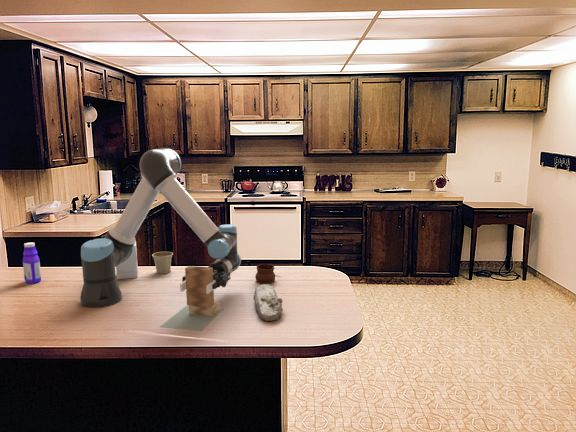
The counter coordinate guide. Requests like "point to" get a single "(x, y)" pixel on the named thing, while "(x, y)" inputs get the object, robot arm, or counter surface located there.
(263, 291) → the elongated rock
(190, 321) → the mat
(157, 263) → the flower pot
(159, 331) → the counter surface
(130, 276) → the supplement box
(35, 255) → the bottle
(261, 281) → the ceramic pot
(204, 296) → the slab
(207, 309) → the tan wooden block
